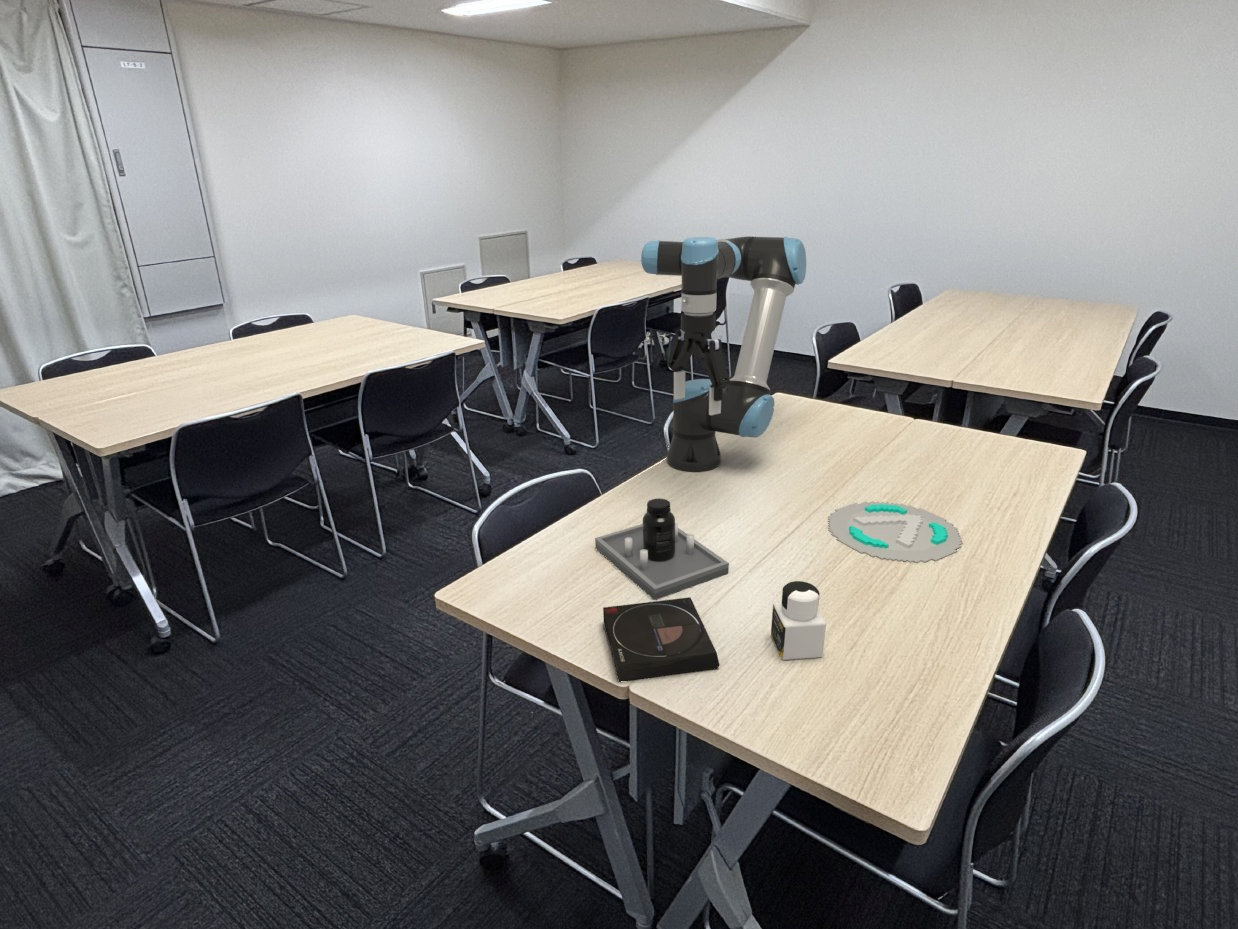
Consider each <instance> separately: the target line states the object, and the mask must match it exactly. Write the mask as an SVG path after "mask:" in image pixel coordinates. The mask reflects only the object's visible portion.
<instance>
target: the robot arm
mask: <svg viewBox="0 0 1238 929" xmlns="http://www.w3.org/2000/svg"><path fill="white" fill-rule="evenodd" d="M805 248H806V247H805V246H804V243H803V241H802V240H801V239H799V238H794V237H787V236H784V237H774V236H739V237H738V236H737V237H733V238H725V239H723V238H722V239H716V238H715V237H708V236H698V237H697V236H696V237H694V236H693V237H687V238H685V239H683V241H673V240H669V241H666V240H665V241H664V240H650V241H649V240H648V242H646V243H645V244H644V245H643V247H642V250H641V259H640V262H641V267H642V269H643V271H644V272H645V273H646V274H649V275H656V276H679V277H680V276H681V291H680V292H681V303H680V304H681V307H680V308H681V309H680V310H681V312H682V313H681V315H680V329H676V330H675V336H674V342H673V344H672V347H671V351H670V353H669V356H668V358H667V363H666V364H667V367H668V368H671V371H672V377H673V380H672V381H673V400H672V405H673V416H672V417H673V418H672V419H673V420H672V422H673V424H672V425H673V426H672V427H673V433H672V434H673V435H672V439H671V442H670V444H669V448H668V450H667V453H666V462H667V464H668V465H669V467H672V468H673V469H676V470H679V471H684V472H705V471H711V470H714V469H716V468H717V467H720V465H721V461H722V459H721V458H722V455H721V450H720V447H719V444H718V441H717V438H716V433H722V434H729V435H734V436H740V437H742V438H755V439H756V438H758V437H761V436H762V435H764V433H765V432H766V431H767V429H768V427H769V426H770V424H771V421H772V418H773V415H774V411H775V408H774V407H775V398H774V397H773V396H772V395H771V388H770V387H769V386H768V384H767V381H768V377H769V373H770V368H771V364H772V359H773V356H774V351H775V348H776V347H775V346H776V342H777V339H778V334H779V330H780V326H781V322H782V318H783V317H782V316H783V312H784V308H785V304H786V300H787V298H788V296H791V295H792V294H793V293H794V291H795V288H796V285H798V286H799V285H801V284H803V283H804V281H805V278H806V275H807V274H806V273H807V254H806V249H805ZM722 278H731V279H736V280H740V281H749V282H750V286H751V288H752V289H753V295H752V299H751V304H750V308H749V312H748V316H747V320H746V326H745V329H744V334H743V338H742V343H741V347H740V351H739V355H738V360H737V364H736V368H735V372H734V375H733V377H731V378H730V377H729V373H728V369H727V364H726V360H725V357H724V353H723V348H722V346H723V344H722V340H721V338H717V339H713V338H712V333H713V332H714V331H715V330H716V322H717V321H716V319H717V318H716V317H717V315H716V313H715V311H716V310H717V294H718V293H717V288H718V287H717V286H718V285H717V284H718V280H720V279H722ZM692 355H693V356H695V357H698V359H699V360H700V361H701V362H702V363H703V367H704V368H705V371H706V374H707V376H708V378H697V379H696V378H695V379H692V380H686V370H685V369H686V368H685V366H686V365H687V364H688V361H689V360H690V358H691V357H692ZM724 386H725V388H724Z"/></svg>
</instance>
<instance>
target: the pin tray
mask: <svg viewBox="0 0 1238 929" xmlns="http://www.w3.org/2000/svg"><path fill="white" fill-rule="evenodd" d="M594 543H595V545H594V546H595V549H596V550H597V551H598V552H599V553H601V554H602V556H604V557H605V558H606V559H608V561H610V562H611V563H612V564H613V565H614V566H615V567H617V569H619V570H620V571H621V572H622V573H624V574H625V576H627V577H628V578H629V579H630V580H631V581H632V582H633V583H635V584H636V585H637V586H638V587H639V588H640V589H641V590H643V592H645V593H646V594H647V595H649V596H650V597H651V598H652V599H653V601H654V600H655V601H658V600H660V599H662V598H664V597H668V596H670V595H673V594H677V593H679V592H681V591H685V590H687V589H690V588H693V587H695V586H697V585H701V584H704V583H707V582H709V581H713V580H715V579H717V578H720V577H723V576H726V575H728V574H729V568H730V564H729V562H728V561H727V560H725V559H724V558H722V557H721V556H720V555H718V554H716V553H715V552H714V551H713V550H711V549H709V548H708V547H706V546H705V545H703V543H701V542H699V541H698V540H697V539H696V538H695V535H694V534H692V533H691V534H690V533H689V534H688V533H686V532H685V531H684V530H682V529H680V528H679V525H678V523H676V522H675V554H674V556H673V557H672V558H670V559H668V560H664V561H654V560H651V559H648V551H647V550H646V549H643V523H641V524H637V525H634V526H631V527H627V528H624V529H621V530H618V531H617V530H616V531H614V532H611V533H607V534H604V535H601V536H598V537H595V538H594Z"/></svg>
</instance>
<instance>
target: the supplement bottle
mask: <svg viewBox="0 0 1238 929" xmlns="http://www.w3.org/2000/svg"><path fill="white" fill-rule="evenodd" d="M675 523H676V517H675V514H673V513H672V512H671V502H670V501H669V500H668V499H665V498H661V497H660V498H652V499H650V500H648V501H647V504H646V513H645V514H644V515H643V517H642V524H643V549H646V550H647V551H648V559H651V560H654V561H664V560H668V559H670V558H672V557H673V556H674V554H675Z"/></svg>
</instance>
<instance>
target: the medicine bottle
mask: <svg viewBox="0 0 1238 929" xmlns="http://www.w3.org/2000/svg"><path fill="white" fill-rule="evenodd" d="M781 593H782V594H781V601H778V602H777V601H776V602H773V604H772V613H771V614H772V616H771V629H770V636H771V639H772V641H773V643H774V645H775V647H776V650H777V652H778V654H779V655H780V659H781V660H782V661H787V660H788V661H790V660H803V659H805V660H806V659H813V658H814V659H817V658H822V657H823V655H824V646H825V638H826V628H827V622H826V620H825V619H824V618H823V616H822V614H821V613H820V611H819V603H820V591H819V589H818V588H817V587H816V586H815V585H813V584H812V583H809V582H807V581H803V580H802V581H801V580H794V581H790V582H788V583H786V584H785V585H784V586H783V587H782V592H781Z"/></svg>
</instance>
